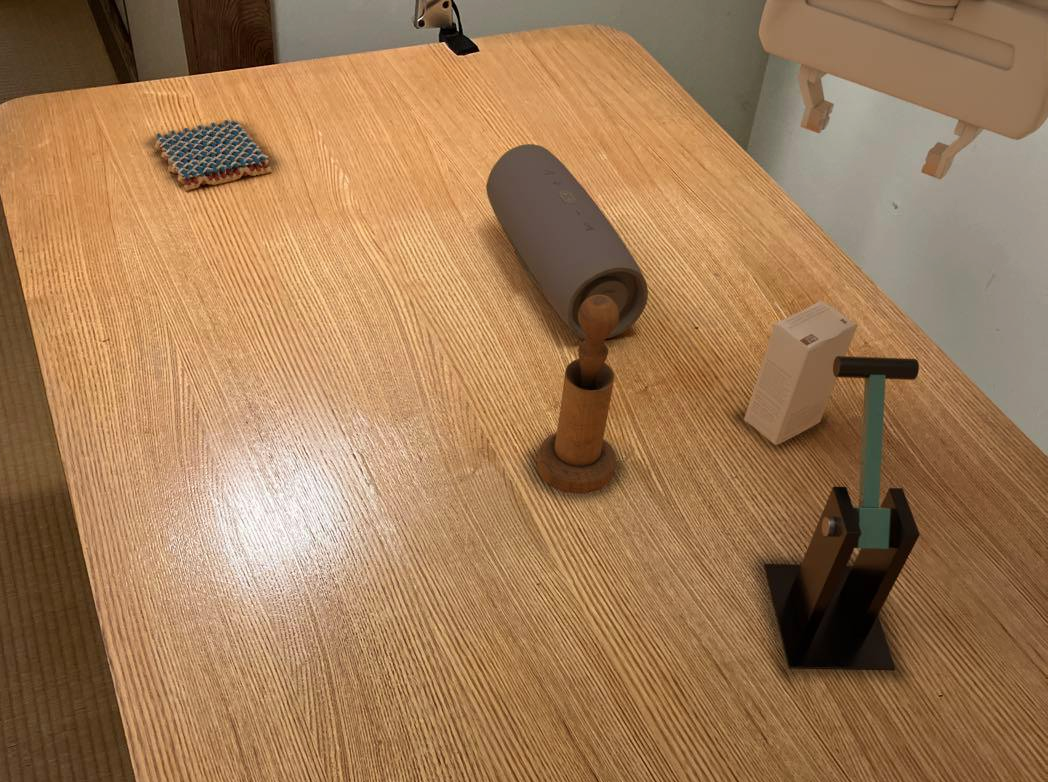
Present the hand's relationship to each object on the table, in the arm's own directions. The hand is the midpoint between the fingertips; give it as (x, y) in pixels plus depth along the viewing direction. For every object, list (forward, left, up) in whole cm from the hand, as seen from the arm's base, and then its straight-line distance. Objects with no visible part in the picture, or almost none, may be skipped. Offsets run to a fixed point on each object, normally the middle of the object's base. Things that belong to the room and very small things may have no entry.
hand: (872, 150), depth 78 cm
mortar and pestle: (+11, +17, -27) cm, 34 cm away
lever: (-10, +14, -13) cm, 22 cm away
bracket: (-13, +18, -27) cm, 35 cm away
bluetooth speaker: (+28, -5, -27) cm, 39 cm away
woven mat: (+71, +2, -27) cm, 76 cm away
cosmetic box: (0, 0, -27) cm, 27 cm away
